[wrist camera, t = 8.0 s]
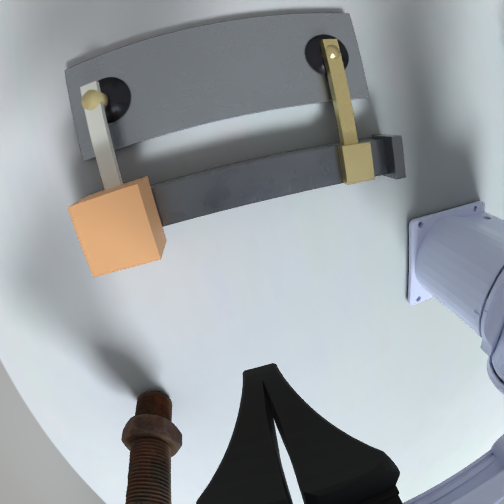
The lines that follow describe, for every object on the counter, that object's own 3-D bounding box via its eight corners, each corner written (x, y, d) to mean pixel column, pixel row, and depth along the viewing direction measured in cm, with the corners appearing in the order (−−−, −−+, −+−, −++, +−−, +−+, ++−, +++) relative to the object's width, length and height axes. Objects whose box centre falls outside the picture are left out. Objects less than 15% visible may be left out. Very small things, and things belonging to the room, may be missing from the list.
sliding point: (126, 76, 15) (109, 63, 12) (167, 236, 19) (160, 259, 16) (67, 99, 15) (39, 93, 11) (110, 252, 19) (93, 277, 15)
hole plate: (345, 15, 16) (350, 12, 16) (365, 98, 19) (370, 97, 18) (67, 71, 15) (63, 69, 14) (86, 160, 18) (82, 161, 17)
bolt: (114, 387, 24) (88, 539, 10) (159, 370, 24) (151, 540, 10) (151, 423, 26) (146, 561, 13) (194, 410, 26) (206, 558, 13)
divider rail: (363, 44, 17) (381, 35, 15) (385, 171, 21) (405, 177, 19) (63, 106, 16) (46, 104, 14) (100, 241, 20) (89, 255, 17)
